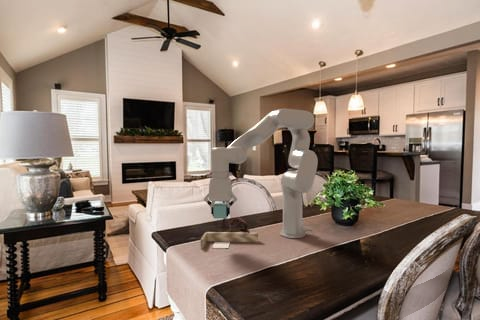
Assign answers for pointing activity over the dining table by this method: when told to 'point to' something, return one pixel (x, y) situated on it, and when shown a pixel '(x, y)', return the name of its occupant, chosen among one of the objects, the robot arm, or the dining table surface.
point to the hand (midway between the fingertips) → (220, 215)
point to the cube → (220, 210)
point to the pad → (221, 245)
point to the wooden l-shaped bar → (228, 237)
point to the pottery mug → (238, 224)
